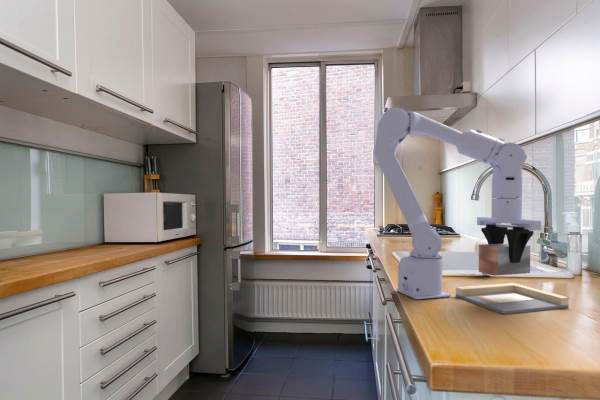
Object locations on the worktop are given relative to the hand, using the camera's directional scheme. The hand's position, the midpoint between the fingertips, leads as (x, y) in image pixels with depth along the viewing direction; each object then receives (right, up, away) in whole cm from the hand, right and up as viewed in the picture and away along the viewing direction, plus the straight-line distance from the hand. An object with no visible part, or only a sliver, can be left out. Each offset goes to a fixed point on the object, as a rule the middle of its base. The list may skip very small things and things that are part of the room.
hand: (505, 260), depth 75 cm
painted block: (0, -3, 0) cm, 3 cm away
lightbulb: (+10, -9, +25) cm, 29 cm away
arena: (+1, -9, 0) cm, 9 cm away
